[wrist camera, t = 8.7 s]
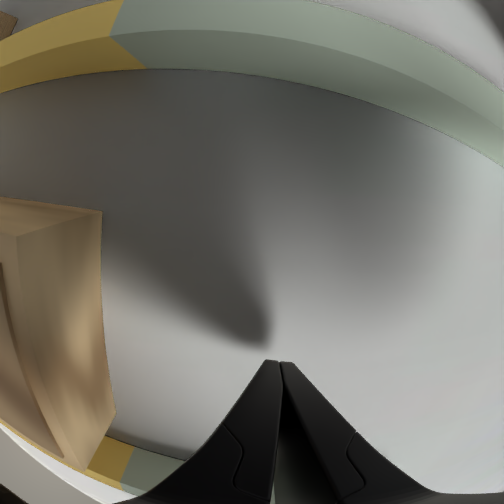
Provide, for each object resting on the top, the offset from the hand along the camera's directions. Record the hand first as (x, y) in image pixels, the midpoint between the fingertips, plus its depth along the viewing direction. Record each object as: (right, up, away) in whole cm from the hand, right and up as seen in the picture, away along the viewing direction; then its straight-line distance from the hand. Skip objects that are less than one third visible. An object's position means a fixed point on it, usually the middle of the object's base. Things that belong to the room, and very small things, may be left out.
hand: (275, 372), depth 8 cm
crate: (-9, +1, +1) cm, 10 cm away
